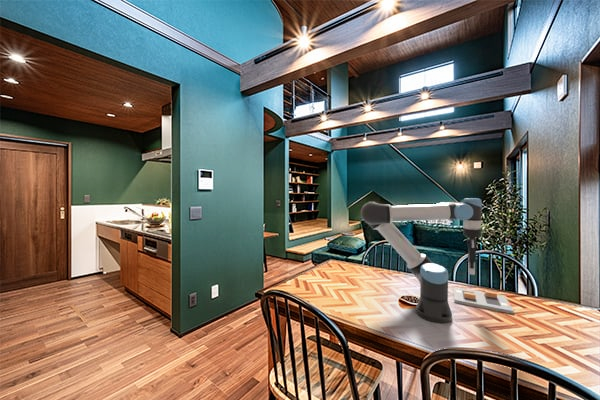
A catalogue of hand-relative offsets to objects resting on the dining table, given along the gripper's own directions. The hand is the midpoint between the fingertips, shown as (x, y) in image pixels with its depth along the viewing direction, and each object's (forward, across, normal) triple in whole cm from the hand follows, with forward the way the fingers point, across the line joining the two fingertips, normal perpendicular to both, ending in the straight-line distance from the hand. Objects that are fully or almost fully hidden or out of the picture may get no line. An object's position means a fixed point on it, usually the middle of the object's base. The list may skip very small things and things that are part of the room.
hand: (471, 274), depth 123 cm
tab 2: (+15, +15, -10) cm, 23 cm away
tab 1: (+15, +7, 0) cm, 17 cm away
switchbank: (+17, +11, -5) cm, 21 cm away
